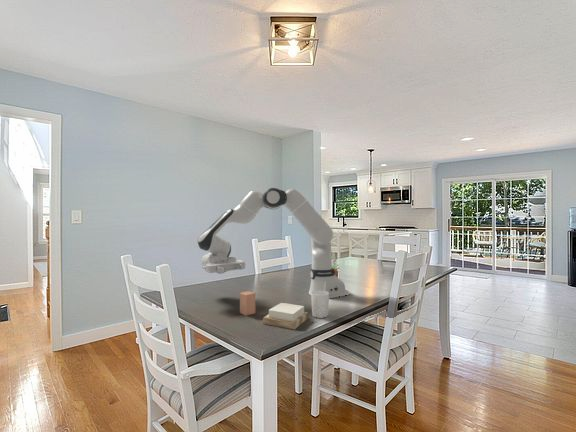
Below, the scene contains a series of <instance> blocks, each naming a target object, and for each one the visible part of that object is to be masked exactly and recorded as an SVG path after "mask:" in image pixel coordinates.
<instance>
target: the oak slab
mask: <svg viewBox="0 0 576 432" xmlns="http://www.w3.org/2000/svg"><path fill="white" fill-rule="evenodd" d="M308 318H309V312H308V311H304V314H303V315H301V316H300V317H299V318H297V319H296V320H295V321H293V322H292V321H286V320H281V319H275V318H270V317H269V313H268V314H267V315H265V316H264V317H262V324H263V325H269V326H274V327H279V328H284V329H288V330H289V329H291V330H293V331H294V330H296V329H297V328H298V327H300V325H302V324H303V323H304V322H305V321H307V319H308Z"/></svg>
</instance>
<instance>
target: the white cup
mask: <svg viewBox="0 0 576 432" xmlns="http://www.w3.org/2000/svg"><path fill="white" fill-rule="evenodd" d="M310 298H311V315H312V317H314V318H316V317H317V319H324V317H325V318H327V317H328V316H329V304H330V303H329V301H330V298H329V292H326V291H312V292H311V295H310Z"/></svg>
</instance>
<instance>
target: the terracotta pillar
mask: <svg viewBox="0 0 576 432" xmlns="http://www.w3.org/2000/svg"><path fill="white" fill-rule="evenodd" d="M239 313H240V314H242V315H244V316H250V315H253V314H256V292H253V291H251V290H246V291H243V292H239Z"/></svg>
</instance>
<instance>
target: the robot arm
mask: <svg viewBox="0 0 576 432" xmlns="http://www.w3.org/2000/svg"><path fill="white" fill-rule="evenodd" d="M282 206H283V207H285V208H287V209H288V211H289V212H290V213H291V214H292V215H293V216H294V218H295V219H296V220H297V221H298V223H300V225H301V226H302V227H303V228H304V229H305V231H306V232H307V234H308V235H309V236H310V238H311V239H310V240H311V241H310V242H311V244H310V246H311V268H310V284H309V285H310V286H309V291H308V294H309V296H311V292H312V291H326V292H329V299H333V298H339V296H340V297H345V295H347V296H350V295H349V294H350V291H349V290H347V289H346V284H345V282H344V281H343V280H342V279H340V278H339V277H338V276H337V274H338V273H339V270H338V269H334V268H332V267H333V264H332V263H333V261H332V258H333V257H332V256H333V255H332V243H331V241H332V239H333V237H334V232H333V229H332V227H331V226H330V224H328V222H326V220H325V219H324V218H323V217H322V216H321V215H320V214H319V213H318V211H317V210H316V209H315V208H314V207H313V205H311V204H310V202H309V201H308V200H307V198H305V197H304V196H303V194H302V193H301V192H299V190H297V189H296V188H289V189H287V190H286V191H284V190H282V189H279V188H276V187H270V188H268V189H267V190H265V191H264V193H262V192H260V191H258V190H250V191H249V192H248V193H247V194H246V195H245V196H244V198H242V199H241V201H240V203H239V204H238V205H237V206H236V207H234V208H229V209H227V210H226V211H225V212H223V213H222V214H221V215H220V217H218V218H217V219H216V220H215V221H214V222H213V223H212V224H211V225H210V226H209V227H208V228H207V229H206V230H205V231H203V232H202V233H201V234H200V235H199V237H198V239H197V245H198V247H199V249H200V250H203V251H205V252H208V253H206V254H203V255H202V257H201V259H200V263H201V265H202V269H203V270H205V272H206V273H208V274H215V273H216V274H219V275H222V274H224V273H227V272H230V271H237V270H238V271H239V270H245V269H246V262H245V260H241V259H239V258H237V257H233V256H230V255H231V253H232V245H231V243H230V242H229V241H227V240H225V239H224V238H221V237H220V236H218V235H217V234H218V233H219V232H220V231H221V230H222V229H223V228H224V227H225V226H226V225H227V224H229V223H230V224H231V223H236V224H240V225H241V224H243V225H246V224H249V223H251V222H252V221H253V220H254V219H255V218H256V216H257V215H258V213H259V212H260V210H262V208H266V209H270V210H278V209H279V208H280V207H282ZM229 256H230V257H229Z"/></svg>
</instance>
